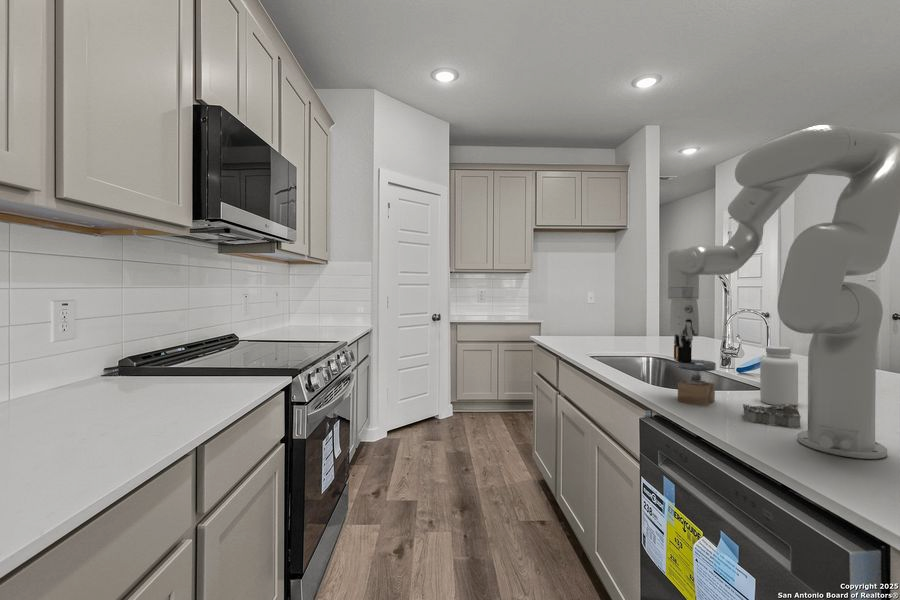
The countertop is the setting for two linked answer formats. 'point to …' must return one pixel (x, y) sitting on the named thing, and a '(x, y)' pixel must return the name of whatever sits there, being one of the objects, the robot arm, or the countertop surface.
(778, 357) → the pill bottle
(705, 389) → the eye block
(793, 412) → the egg carton
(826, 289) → the robot arm
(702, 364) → the grey knobbed disc
